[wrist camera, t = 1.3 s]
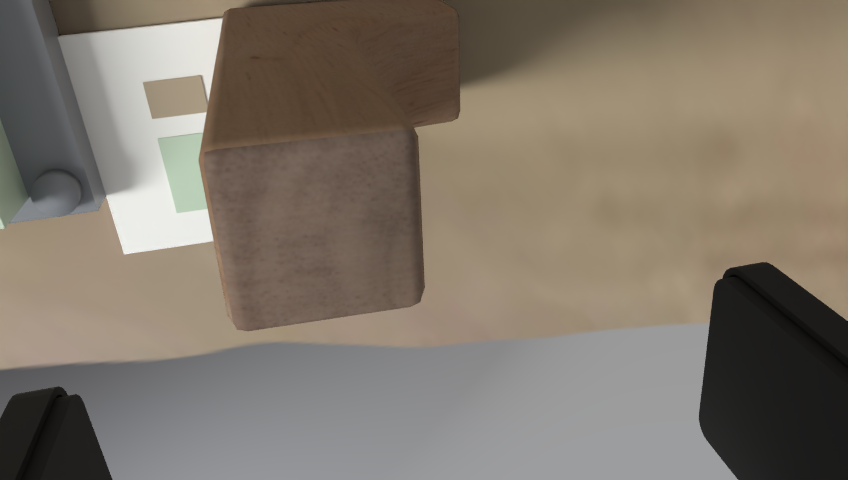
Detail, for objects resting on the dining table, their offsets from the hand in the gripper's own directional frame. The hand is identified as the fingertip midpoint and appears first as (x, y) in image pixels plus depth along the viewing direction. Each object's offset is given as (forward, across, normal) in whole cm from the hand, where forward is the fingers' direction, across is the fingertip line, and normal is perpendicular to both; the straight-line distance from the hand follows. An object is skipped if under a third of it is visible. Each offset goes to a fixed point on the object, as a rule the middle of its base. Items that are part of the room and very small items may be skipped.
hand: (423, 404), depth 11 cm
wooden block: (+24, -1, 0) cm, 24 cm away
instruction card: (+24, +6, +3) cm, 25 cm away
